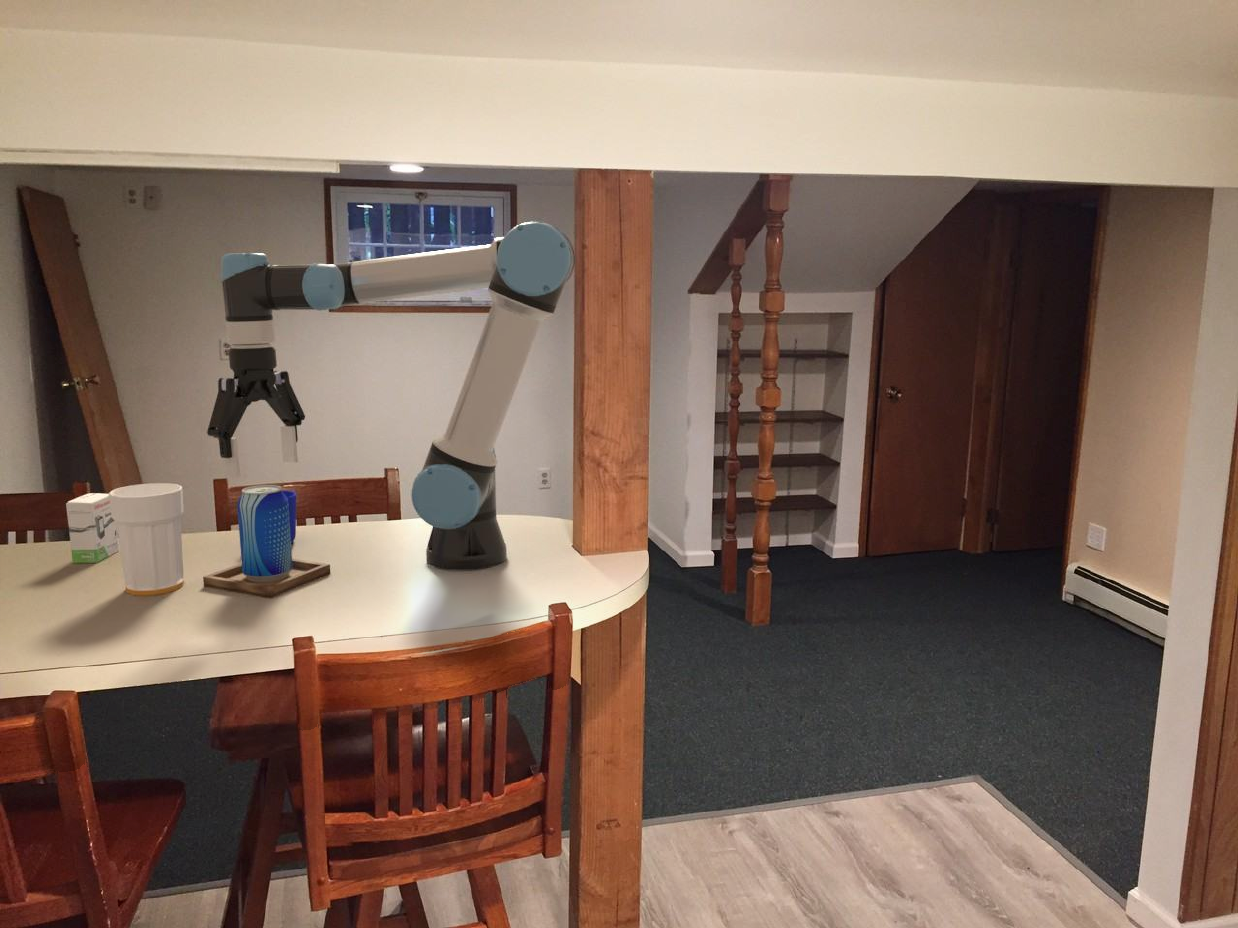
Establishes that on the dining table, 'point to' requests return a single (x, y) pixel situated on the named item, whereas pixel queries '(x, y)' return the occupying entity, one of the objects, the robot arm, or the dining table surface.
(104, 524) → the ink box
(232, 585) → the tray
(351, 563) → the dining table surface
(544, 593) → the dining table surface
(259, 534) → the beer can
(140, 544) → the cup
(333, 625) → the dining table surface
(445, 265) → the robot arm
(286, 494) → the mug
